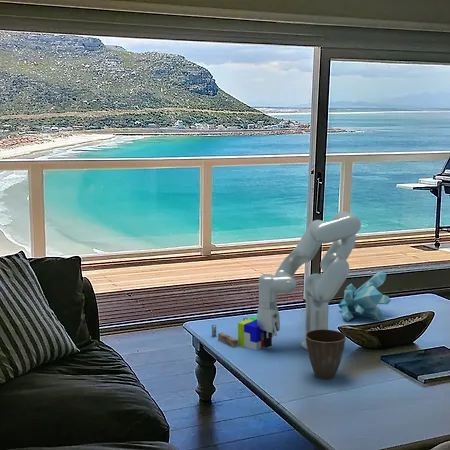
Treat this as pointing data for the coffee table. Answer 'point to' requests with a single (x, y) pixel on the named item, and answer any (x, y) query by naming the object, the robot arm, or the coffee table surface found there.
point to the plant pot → (325, 352)
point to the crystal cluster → (364, 299)
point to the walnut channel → (227, 340)
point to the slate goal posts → (215, 328)
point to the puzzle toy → (250, 334)
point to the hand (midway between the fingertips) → (267, 346)
